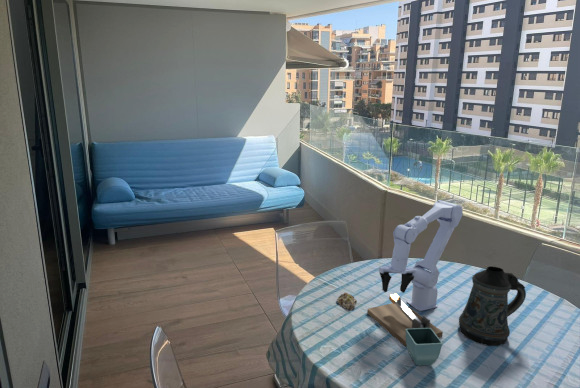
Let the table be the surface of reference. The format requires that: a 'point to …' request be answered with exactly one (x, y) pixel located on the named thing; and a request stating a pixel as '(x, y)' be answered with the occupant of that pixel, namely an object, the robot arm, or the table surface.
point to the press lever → (404, 308)
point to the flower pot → (423, 345)
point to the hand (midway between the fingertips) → (393, 291)
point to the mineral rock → (347, 301)
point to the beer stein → (490, 306)
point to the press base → (399, 321)
